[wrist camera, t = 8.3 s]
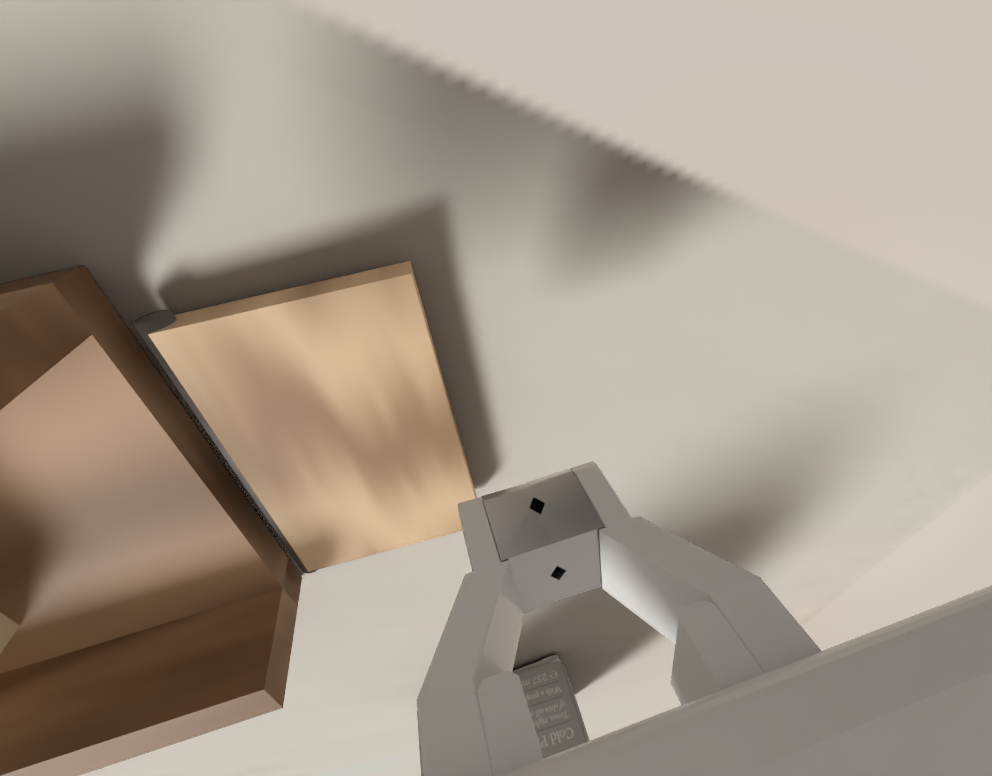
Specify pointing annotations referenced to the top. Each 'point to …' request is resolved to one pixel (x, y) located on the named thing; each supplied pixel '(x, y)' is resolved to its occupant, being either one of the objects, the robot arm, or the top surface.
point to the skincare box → (549, 706)
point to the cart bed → (120, 549)
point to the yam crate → (6, 630)
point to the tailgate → (326, 410)
